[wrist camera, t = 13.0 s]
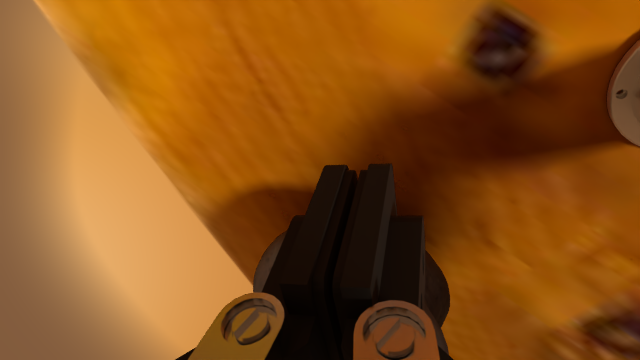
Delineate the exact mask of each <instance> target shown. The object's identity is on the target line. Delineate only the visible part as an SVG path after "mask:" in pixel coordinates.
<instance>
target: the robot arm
mask: <svg viewBox="0 0 640 360" xmlns="http://www.w3.org/2000/svg"><path fill="white" fill-rule="evenodd" d="M619 90H621V91H619ZM618 91H619V92H618ZM607 108H608V112H609V116H610V118H611V120H612V122H613V123H614V125H615V127H616V128H617V129H618V131H619V132H620V133H621V134H622V135H623V136H624V137H625V138H626V139H628V140H629V141H630V142H632V143H633V144H635V145H637V146H639V147H640V39H639V40H638V41H637V42H636V43H635V44H634V45H633V46H632V47H631V49H630V50H629V51H628V52H627V53H626V54H625V55H624V57H623V58H622V60H621V61H620V63H619V64H618V65H617V67H616V69H615V71H614V73H613V75H612V78H611V80H610V83H609V87H608V91H607ZM424 294H425V235H424V219H423V216H397V207H396V197H395V187H394V176H393V167H392V164H391V163H390V164H369V166H368V170H361V171H360V175H359V178H358V181H357V175H356V171H355V170H349V168H348V166H347V165H326V166H325V167H324V168H323V171H322V174H321V176H320V179H319V181H318V184H317V186H316V189H315V192H314V194H313V197H312V199H311V202H310V204H309V207H308V210H307V212H306V215H296V216H295V217H293V219H292V221H291V223H290V226H289V228H288V230H287V233H286V235H285V237H284V240H283V242H282V244H281V247H280V249H279V252H278V254H277V256H276V259H275V261H274V263H273V266H272V268H271V271H270V273H269V275H268V278H267V280H266V282H265V285H264V287H263V290H262V292H261V293H258V292H255V293H250V294H245V295H243V296H241V297H238V298H236V299H234V300H233V301H232V302H230V303H229V304H227V305H226V306H225V307H224V308H223V309H222V311H221V312H220V313H219V314H218V316H217V317H216V319H215V320H214V322H213V323H212V324H211V326H210V327H209V329H208V330H207V332H206V333H205V335H204V336H203V338H202V339H201V341H200V342H199V344H198V345H197V347H196V348H194V349H192V350H191V351H189V352H187V353H186V354H184V355H182V356H181V357H179V358H177V359H176V360H453V359H452V358H451V357H450V356H449V355H448V354H447V353H446V352H445V351H444V350H443V349H441V348H440V347H439V346H438V345H437V340H436V334H435V329H434V327H433V324H432V321H431V319H430V318H429V317H428V315H427V314H426V313H425V312H424Z"/></svg>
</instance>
